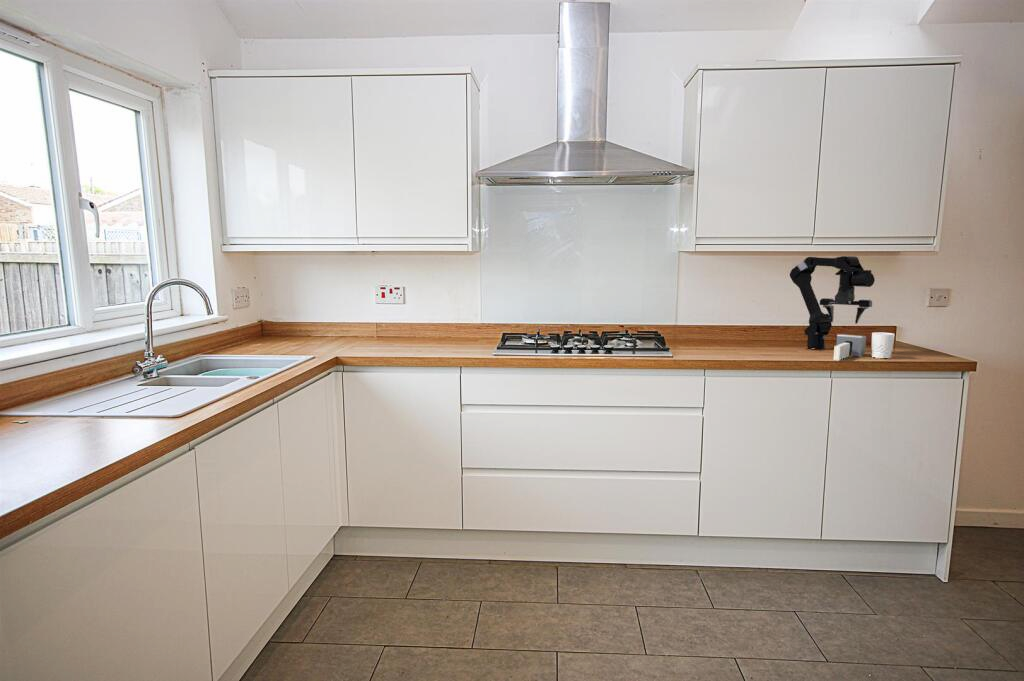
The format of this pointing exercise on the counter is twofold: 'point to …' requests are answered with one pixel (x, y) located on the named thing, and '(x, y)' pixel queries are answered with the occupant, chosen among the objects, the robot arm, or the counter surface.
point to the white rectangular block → (841, 351)
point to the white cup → (882, 344)
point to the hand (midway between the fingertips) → (843, 322)
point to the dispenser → (853, 343)
